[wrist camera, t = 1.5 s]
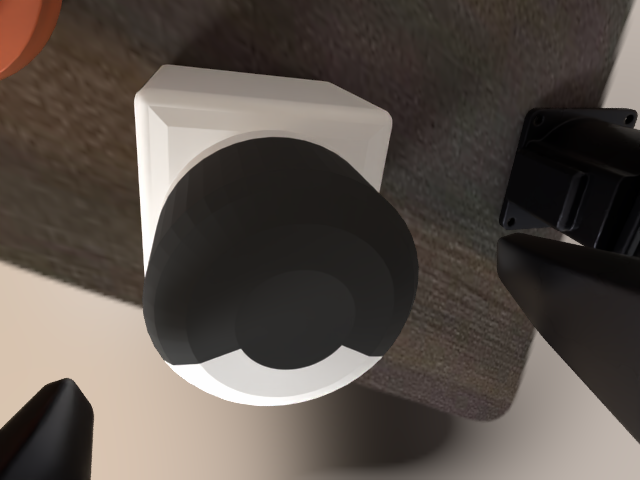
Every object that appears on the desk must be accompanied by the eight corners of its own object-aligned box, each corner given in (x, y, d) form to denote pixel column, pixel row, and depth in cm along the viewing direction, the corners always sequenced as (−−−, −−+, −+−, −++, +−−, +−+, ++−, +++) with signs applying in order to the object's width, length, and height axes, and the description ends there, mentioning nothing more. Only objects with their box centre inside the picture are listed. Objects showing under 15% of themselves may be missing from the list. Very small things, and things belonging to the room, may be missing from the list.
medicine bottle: (158, 62, 17) (82, 135, 6) (333, 81, 18) (499, 162, 8) (164, 229, 20) (119, 463, 9) (314, 231, 22) (417, 427, 11)
